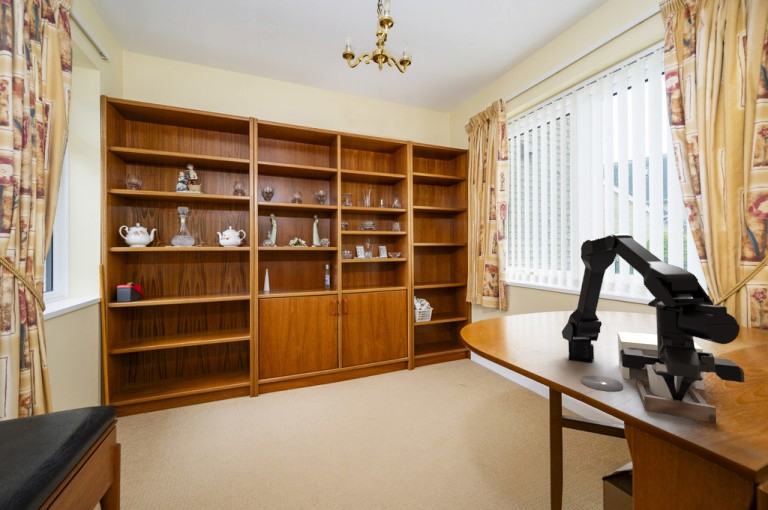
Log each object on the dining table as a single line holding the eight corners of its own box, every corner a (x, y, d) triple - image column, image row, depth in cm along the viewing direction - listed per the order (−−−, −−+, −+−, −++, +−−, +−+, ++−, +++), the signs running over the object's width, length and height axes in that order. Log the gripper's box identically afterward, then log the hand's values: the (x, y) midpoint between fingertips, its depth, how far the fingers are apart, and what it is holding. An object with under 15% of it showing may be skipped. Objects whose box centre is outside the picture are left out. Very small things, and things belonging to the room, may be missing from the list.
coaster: (580, 387, 82) (580, 384, 82) (581, 375, 89) (581, 373, 89) (624, 394, 77) (624, 391, 77) (621, 381, 85) (621, 378, 85)
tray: (645, 410, 69) (644, 396, 69) (635, 383, 83) (635, 372, 83) (716, 423, 63) (715, 407, 63) (693, 392, 77) (693, 379, 77)
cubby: (622, 378, 86) (621, 341, 86) (618, 364, 97) (617, 331, 97) (704, 389, 78) (702, 349, 78) (690, 373, 88) (689, 337, 88)
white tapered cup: (675, 402, 72) (674, 372, 72) (640, 391, 78) (640, 362, 78) (691, 396, 75) (690, 366, 75) (657, 385, 81) (656, 358, 81)
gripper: (623, 335, 66) (626, 410, 66) (756, 346, 56) (759, 434, 56) (618, 324, 75) (621, 389, 75) (731, 331, 65) (734, 407, 65)
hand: (677, 403), depth 68 cm, fingers closed, pressing on tray
